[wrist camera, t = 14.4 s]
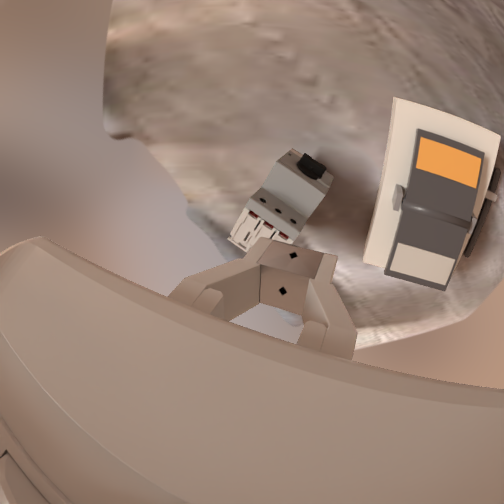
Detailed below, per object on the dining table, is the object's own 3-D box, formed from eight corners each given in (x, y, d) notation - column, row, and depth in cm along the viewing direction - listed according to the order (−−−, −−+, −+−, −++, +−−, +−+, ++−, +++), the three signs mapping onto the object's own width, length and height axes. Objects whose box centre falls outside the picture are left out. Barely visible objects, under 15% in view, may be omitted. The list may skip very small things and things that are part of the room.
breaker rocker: (414, 128, 27) (416, 127, 26) (482, 152, 24) (486, 153, 23) (382, 269, 36) (383, 275, 34) (444, 287, 32) (446, 292, 31)
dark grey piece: (488, 151, 27) (492, 154, 26) (503, 158, 26) (507, 161, 25) (455, 251, 39) (456, 257, 38) (468, 255, 38) (470, 261, 37)
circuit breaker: (343, 161, 40) (328, 196, 29) (298, 221, 50) (270, 270, 39) (304, 135, 40) (272, 158, 29) (265, 198, 50) (226, 240, 39)
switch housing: (393, 96, 31) (399, 98, 24) (486, 128, 26) (511, 141, 19) (365, 242, 46) (360, 275, 39) (442, 264, 41) (449, 300, 34)
